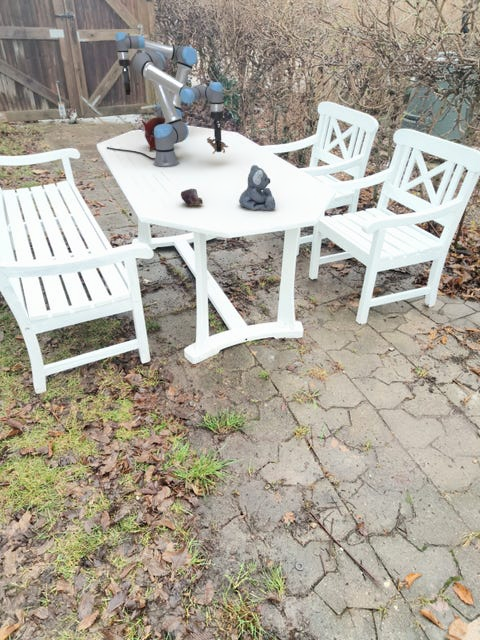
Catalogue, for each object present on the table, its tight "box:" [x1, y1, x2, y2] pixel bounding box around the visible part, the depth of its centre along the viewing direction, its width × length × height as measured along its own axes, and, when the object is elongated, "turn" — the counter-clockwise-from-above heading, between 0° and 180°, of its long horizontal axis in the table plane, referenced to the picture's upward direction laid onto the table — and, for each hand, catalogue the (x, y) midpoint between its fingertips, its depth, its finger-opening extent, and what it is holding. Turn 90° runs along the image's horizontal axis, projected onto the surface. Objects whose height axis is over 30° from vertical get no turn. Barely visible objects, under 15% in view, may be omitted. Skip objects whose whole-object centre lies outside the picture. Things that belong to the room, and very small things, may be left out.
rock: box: [180, 188, 204, 207], centre depth 229 cm, size 12×9×10 cm
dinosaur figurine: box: [206, 136, 229, 155], centre depth 284 cm, size 14×6×9 cm, turn 100°
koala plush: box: [238, 164, 276, 211], centre depth 224 cm, size 17×18×20 cm
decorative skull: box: [141, 116, 165, 152], centre depth 324 cm, size 21×24×25 cm
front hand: (218, 150), depth 286 cm, fingers closed on dinosaur figurine, 5 cm apart
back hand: (128, 93), depth 321 cm, fingers open, 13 cm apart
